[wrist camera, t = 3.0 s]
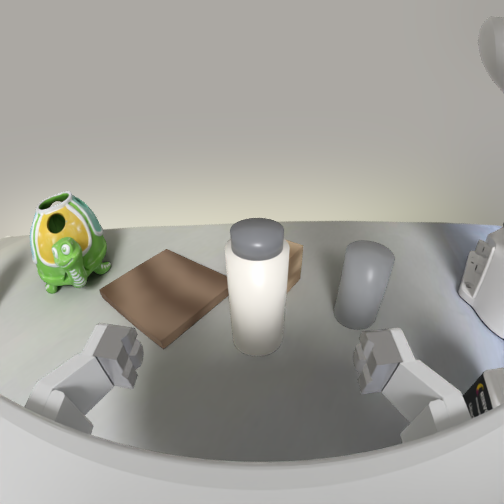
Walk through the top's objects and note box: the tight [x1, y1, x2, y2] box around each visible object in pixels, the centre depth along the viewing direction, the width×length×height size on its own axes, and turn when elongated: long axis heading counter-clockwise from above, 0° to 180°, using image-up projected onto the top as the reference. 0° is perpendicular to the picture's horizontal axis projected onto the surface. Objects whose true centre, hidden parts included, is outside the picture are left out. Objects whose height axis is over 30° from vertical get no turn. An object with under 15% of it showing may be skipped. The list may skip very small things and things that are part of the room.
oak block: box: [286, 240, 303, 294], centre depth 34 cm, size 5×5×5 cm
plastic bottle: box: [225, 218, 290, 356], centre depth 24 cm, size 5×5×12 cm
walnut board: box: [100, 249, 229, 349], centre depth 33 cm, size 12×13×1 cm
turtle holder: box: [30, 191, 111, 294], centre depth 33 cm, size 12×18×12 cm
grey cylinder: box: [334, 240, 395, 330], centre depth 27 cm, size 5×5×8 cm
